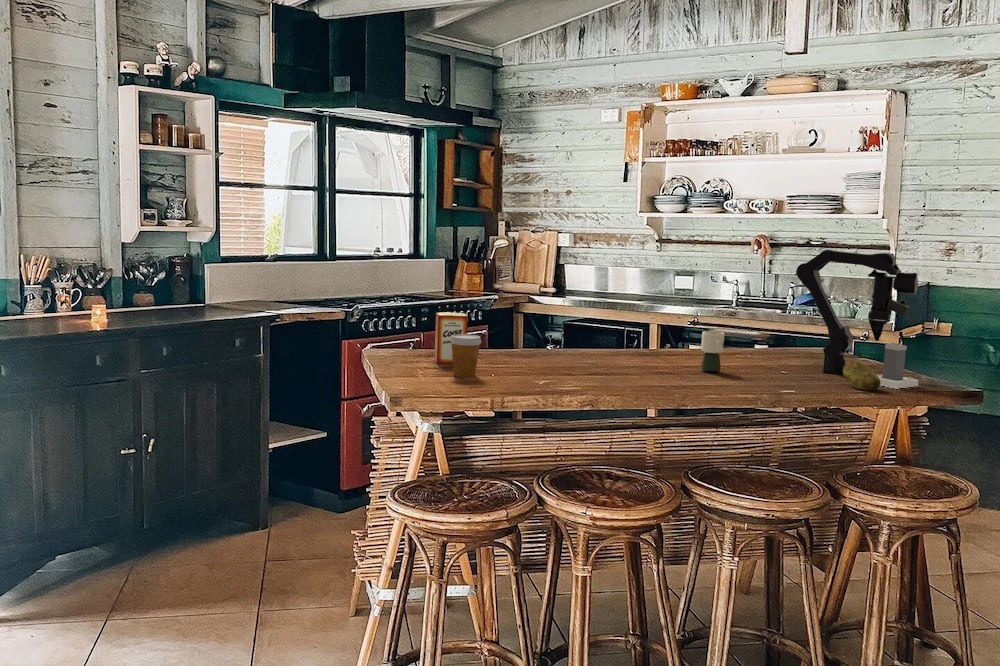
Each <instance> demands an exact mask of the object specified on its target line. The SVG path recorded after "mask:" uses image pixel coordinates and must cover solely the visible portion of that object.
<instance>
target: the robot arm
mask: <svg viewBox="0 0 1000 666" xmlns="http://www.w3.org/2000/svg"><path fill="white" fill-rule="evenodd" d="M830 262H832V263H840V264H846V265H847V264H849V265H857V266H864V267H868V268H870V269H872V271H871V272H869V273H868V274H867V277H869V278H874V279H873V286H872V287H873V289H872V295H871V307H870V311H869V312H868V316H867V317H868V318H867V319H868V323H869V326H870V329H871V332H872V335H873V339H874V341H876V342H878V341H880V338H881V336H882V333H883V329H884V327H885V325H886V324H887V323H889V321H890V319H891V316H892V313H893V312H894V313H896V314H899V315H900V316H902V317H906V315H907V313H908V311H909V309H910V306H909V305H907V301H905V300H904V299H900V300H899V301H897V300H895V299H893V298H894V296H893V295H892V293H893V290H894V291H896V294H907V295H917V293H918V289H919V282H918V281H919V278H918V273H917V272H902V270H901V269H900V268H899V266H898V264H897V258H896V257H895V255H894V254H893V253H891V252H880V253H868V254H867V253H859V252H857V253H856V252H848V251H839V250H832V249H823V250H822V251H821V252H820V253H819V254H818V255H816V256H814V257H813V258H811V259H810V260H809V261H807V262H804V263H801V264H799V265H798V266H797V267H796V270H795V274H796V277H797V278H798V280H799V281H800V282H801V283H802V285H803V286H804V287H805V289H807V290H808V291H809V294H810V295H811V296H812V299H813V302H814V303H815V305H816V308H817V309H818V311H819V313H820V315H821V317H822V319H823V321H824V323H825V326H826V327H827V333H828V339H829V342H830V343H829V344H827V345H826V346H825V347H824V348H823V349H822V350H823V354H824V358H823V359H824V360H823V367H822V368H823V369H822V371H821V372H822V373H827V374H835V375H844V374H843V367H844V365H845V364H846V363H847V359H846V357H845V356H846V352H847V351H848V350H849V349H851V347H852V346H853V343H854V338H853V337H855V335H853V334H852V332H851V329H850V327H849V325H845V326H844V325H843V324H842V323H841V321H840V320H839V318H838V316H837V314H836V312H835V310H834V308H833V306H832V304H831V302H830V300H829V298H828V296H827V294H826V292H825V289H824V287H823V285H822V279H821V274H820V271H821V270H822V269H823V268H824V267H826V265H828V263H830ZM879 271H880V272H879Z"/></svg>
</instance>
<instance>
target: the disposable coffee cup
mask: <svg viewBox="0 0 1000 666" xmlns="http://www.w3.org/2000/svg"><path fill="white" fill-rule="evenodd" d="M450 341H451V344H452V355H453V364H452V365H453V376H455V377H458V378H472V377H475V375H476V371H477V365H478V364H477V363H478V358H479V351H480V348H481V347H480V345H481V344H482V340H481V336H480V335H478V334H468V333H467V334H456V335H452V337H451V339H450Z"/></svg>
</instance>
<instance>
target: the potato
mask: <svg viewBox="0 0 1000 666" xmlns="http://www.w3.org/2000/svg"><path fill="white" fill-rule="evenodd" d="M842 375H843V377H844V378H845V380H846V381H847V382H848V383H849V384H850V385H851V386H852V387H853V388H855V389H857V390H861V391H862V390H863V391H872V392H873V391H875V390H877V389H879V387H881V386H880V379H879V378H878V376H877V375H878V374H876V373H875V372H874V371H873V370H872V369H871V368H870V367H869V366H867V365H866V364H865V363H864V362H862V361H858V360H851V361H848V362H846V364H845V365H844V367H843V374H842Z"/></svg>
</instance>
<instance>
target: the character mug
mask: <svg viewBox="0 0 1000 666" xmlns="http://www.w3.org/2000/svg"><path fill="white" fill-rule="evenodd" d="M724 342H725V332H723V331H713V330H704V331H702V333H701V347H700V348H701V349H700V350H701V351H702V352H704V354H703V357H702V361H701V367H700V369H701V371H709V372H711V373H714V372H721V371H722V370H721V358H720V353H723V352H724V344H725V343H724Z"/></svg>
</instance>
